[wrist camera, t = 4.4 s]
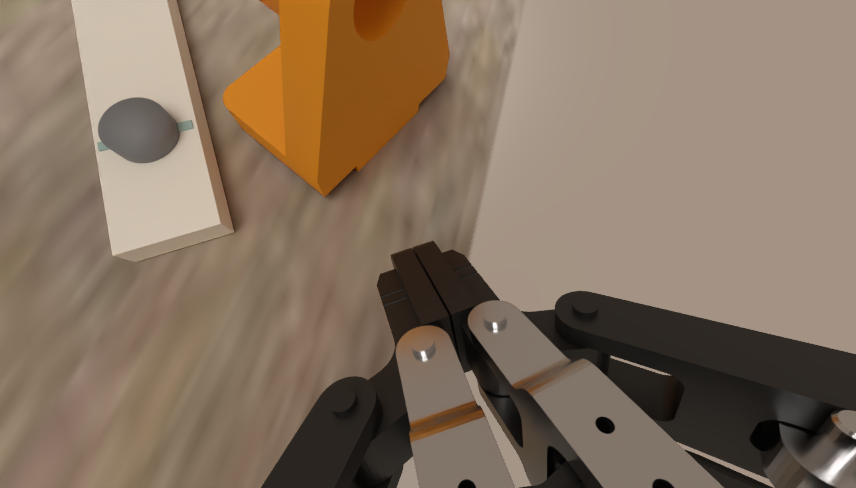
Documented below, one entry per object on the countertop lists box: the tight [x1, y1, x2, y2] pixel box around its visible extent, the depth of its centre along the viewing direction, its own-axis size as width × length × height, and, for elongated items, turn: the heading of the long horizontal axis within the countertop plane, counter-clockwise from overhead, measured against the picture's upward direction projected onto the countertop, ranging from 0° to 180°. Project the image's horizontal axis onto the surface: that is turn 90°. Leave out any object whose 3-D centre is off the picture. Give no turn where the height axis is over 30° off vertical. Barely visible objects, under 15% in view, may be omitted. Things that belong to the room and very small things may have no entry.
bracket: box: [223, 0, 450, 197], centre depth 16 cm, size 11×7×12 cm, turn 141°
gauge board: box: [71, 0, 234, 262], centre depth 20 cm, size 5×24×2 cm, turn 20°
